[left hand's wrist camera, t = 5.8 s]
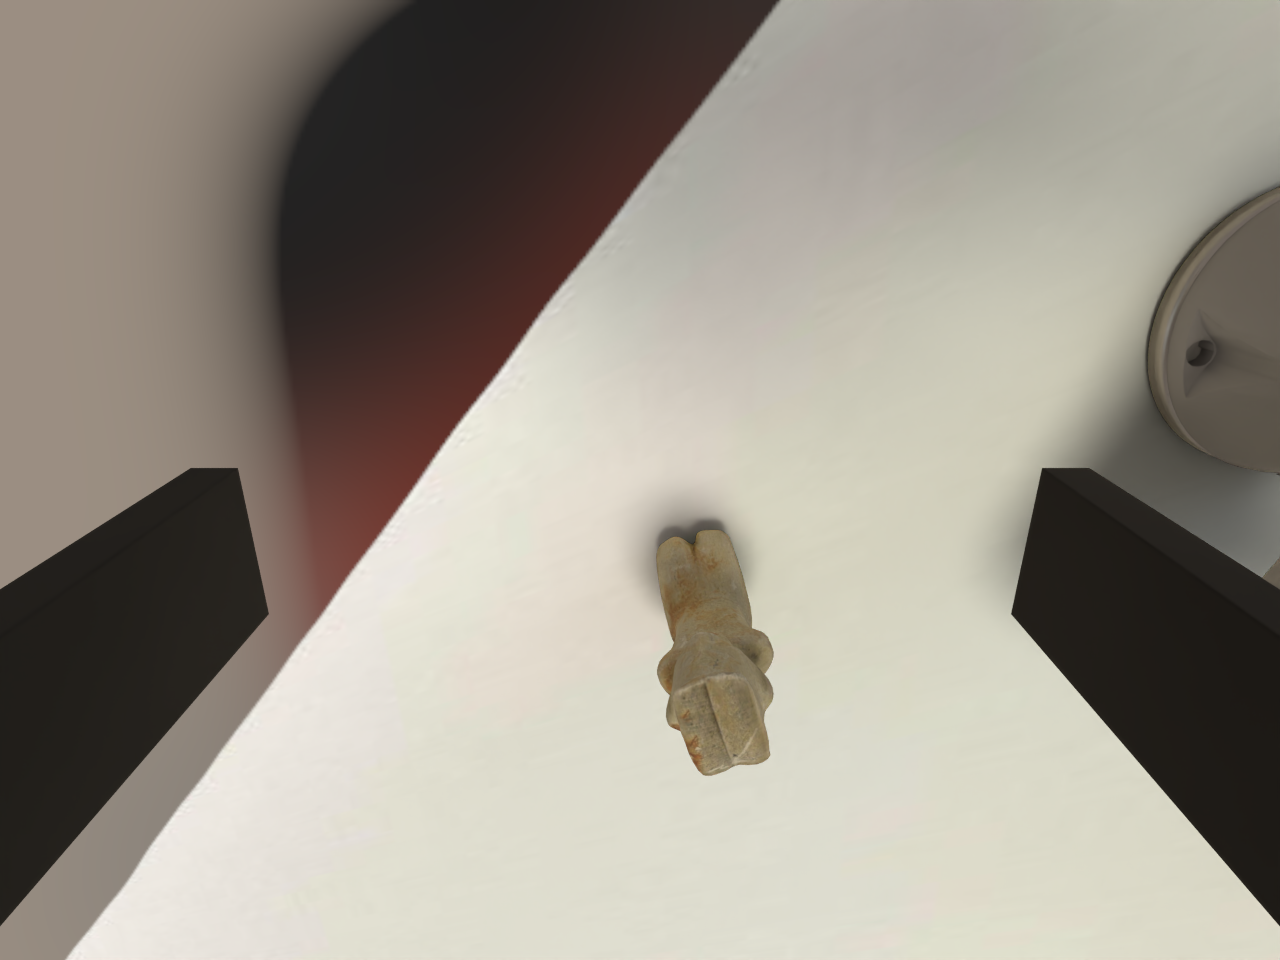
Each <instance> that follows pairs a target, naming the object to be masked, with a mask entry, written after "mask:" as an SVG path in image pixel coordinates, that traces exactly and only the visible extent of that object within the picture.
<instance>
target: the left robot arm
mask: <svg viewBox="0 0 1280 960" xmlns="http://www.w3.org/2000/svg"><path fill="white" fill-rule="evenodd" d="M1148 374H1149V381H1150V387H1151V390H1152V394H1153V398H1154V400H1155V402H1156V405H1157V407H1158V409H1159V411H1160V413H1161V415H1162V417H1163V418H1164V420H1165V421H1166V422H1167V424H1168V425H1169V426H1170V428H1171V429H1172V430H1173V431H1174V432H1175V433H1176V434H1177V435H1178V436H1179V437H1181V438H1182V439H1183V440H1184V441H1186V442H1187V443H1188V444H1190V445H1192V446H1193V447H1195V448H1197V449H1199V450H1201V451H1203V452H1205V453H1207V454H1209V455H1211V456H1213V457H1215V458H1217V459H1220V460H1222V461H1224V462H1226V463H1229V464H1232V465H1235V466H1239V467H1243V468H1248V469H1253V470H1258V471H1263V472H1274V473H1279V474H1277V475H1280V187H1278V188H1276V189H1274V190H1271V191H1269V192H1267V193H1265V194H1263V195H1261V196H1259V197H1258V198H1256V199H1254V200H1252V201H1251V202H1249V203H1247V204H1246V205H1244V206H1243V207H1241V208H1240V209H1238V210H1237V211H1235V212H1234V213H1232V214H1231V215H1230V216H1229V217H1227V218H1226V219H1225V220H1224V221H1222V222H1221V223H1220V224H1219V225H1218V226H1217V227H1215V228H1214V229H1213V230H1212V231H1211V232H1210V233H1209V234H1208V235H1207V236H1206V237H1205V238H1204V239H1203V240H1202V241H1201V242H1200V243H1199V244H1198V245H1197V247H1196V248H1195V249H1194V250H1193V251H1192V252H1191V254H1190V255H1189V256H1188V257H1187V259H1186V260H1185V261H1184V263H1183V264H1182V266H1181V267H1180V269H1179V270H1178V271H1177V273H1176V274H1175V276H1174V278H1173V279H1172V281H1171V283H1170V285H1169V287H1168V288H1167V290H1166V292H1165V294H1164V297H1163V299H1162V301H1161V303H1160V305H1159V308H1158V311H1157V314H1156V316H1155V320H1154V323H1153V327H1152V331H1151V336H1150V342H1149V350H1148ZM268 614H269V613H268V608H267V603H266V599H265V594H264V589H263V585H262V580H261V575H260V570H259V566H258V561H257V556H256V552H255V547H254V542H253V537H252V533H251V528H250V523H249V519H248V514H247V509H246V504H245V500H244V495H243V490H242V486H241V481H240V476H239V472H238V468H190V469H189V470H187V471H186V472H184V473H183V474H181V475H179V476H178V477H176V478H175V479H173V480H171V481H170V482H168V483H167V484H165V485H164V486H162V487H160V488H159V489H157V490H156V491H154V492H153V493H151V494H149V495H148V496H146V497H145V498H143V499H142V500H140V501H138V502H137V503H135V504H134V505H132V506H131V507H129V508H128V509H126V510H124V511H123V512H121V513H120V514H118V515H116V516H115V517H113V518H112V519H110V520H109V521H107V522H105V523H104V524H102V525H101V526H99V527H98V528H96V529H94V530H93V531H91V532H90V533H88V534H87V535H85V536H83V537H82V538H80V539H79V540H77V541H75V542H74V543H72V544H71V545H69V546H68V547H66V548H65V549H63V550H61V551H60V552H58V553H57V554H55V555H53V556H52V557H50V558H49V559H47V560H46V561H44V562H42V563H41V564H39V565H38V566H36V567H35V568H33V569H32V570H30V571H28V572H27V573H25V574H24V575H22V576H21V577H19V578H17V579H16V580H14V581H13V582H11V583H9V584H8V585H6V586H5V587H3V588H2V589H0V926H1V925H2V923H3V922H4V921H5V920H6V919H7V918H8V916H9V915H10V914H11V913H12V912H13V911H14V909H15V908H16V907H17V906H18V905H19V904H20V902H21V901H22V900H23V899H24V898H25V897H26V896H27V894H28V893H29V892H30V891H31V890H32V889H33V887H34V886H35V885H36V884H37V883H38V881H39V880H40V879H41V878H42V877H43V876H44V875H45V873H46V872H47V871H48V870H49V869H50V868H51V866H52V865H53V864H54V863H55V862H56V861H57V860H58V858H59V857H60V856H61V855H62V854H63V853H64V851H65V850H66V849H67V848H68V847H69V846H70V844H71V843H72V842H73V841H74V840H75V839H76V837H77V836H78V835H79V834H80V833H81V832H82V830H83V829H84V828H85V827H86V826H87V825H88V823H89V822H90V821H91V820H92V819H93V818H94V816H95V815H96V814H97V813H98V812H99V811H100V810H101V808H102V807H103V806H104V805H105V804H106V803H107V801H108V800H109V799H110V798H111V797H112V796H113V794H114V793H115V792H116V791H117V790H118V789H119V787H120V786H121V785H122V784H123V783H124V782H125V780H126V779H127V778H128V777H129V776H130V775H131V774H132V772H133V771H134V770H135V769H136V768H137V767H138V765H139V764H140V763H141V762H142V761H143V760H144V758H145V757H146V756H147V755H148V754H149V753H150V751H151V750H152V749H153V748H154V747H155V746H156V744H157V743H158V742H159V741H160V740H161V739H162V737H163V736H164V735H165V734H166V733H167V732H168V731H169V729H170V728H171V727H172V726H173V725H174V724H175V722H176V721H177V720H178V719H179V718H180V717H181V715H182V714H183V713H184V712H185V711H186V710H187V708H188V707H189V706H190V705H191V704H192V703H193V701H194V700H195V699H196V698H197V697H198V696H199V694H200V693H201V692H202V691H203V690H204V689H205V688H206V686H207V685H208V684H209V683H210V682H211V681H212V679H213V678H214V677H215V676H216V675H217V674H218V672H219V671H220V670H221V669H222V668H223V667H224V665H225V664H226V663H227V662H228V661H229V660H230V658H231V657H232V656H233V655H234V654H235V653H236V652H237V650H238V649H239V648H240V647H241V646H242V644H243V643H244V642H245V641H246V640H247V639H248V638H249V636H250V635H251V634H252V633H253V632H254V631H255V629H256V628H257V627H258V626H259V625H260V624H261V622H262V621H263V620H264V619H265V618H266V617H267V615H268ZM1011 614H1012V615H1013V617H1014V618H1015V619H1016V620H1017V621H1018V622H1019V624H1020V625H1021V626H1022V627H1023V628H1024V629H1025V631H1026V632H1027V633H1028V634H1029V635H1030V636H1031V638H1032V639H1033V640H1034V641H1035V642H1036V643H1037V645H1038V646H1039V647H1040V648H1041V649H1042V650H1043V652H1044V653H1045V654H1046V655H1047V656H1048V657H1049V658H1050V660H1051V661H1052V662H1053V663H1054V664H1055V665H1056V667H1057V668H1058V669H1059V670H1060V671H1061V672H1062V674H1063V675H1064V676H1065V677H1066V678H1067V679H1068V681H1069V682H1070V683H1071V684H1072V685H1073V686H1074V688H1075V689H1076V690H1077V691H1078V692H1079V693H1080V694H1081V696H1082V697H1083V698H1084V699H1085V700H1086V701H1087V703H1088V704H1089V705H1090V706H1091V707H1092V708H1093V710H1094V711H1095V712H1096V713H1097V714H1098V715H1099V717H1100V718H1101V719H1102V720H1103V721H1104V722H1105V724H1106V725H1107V726H1108V727H1109V728H1110V729H1111V731H1112V732H1113V733H1114V734H1115V735H1116V736H1117V737H1118V739H1119V740H1120V741H1121V742H1122V743H1123V744H1124V746H1125V747H1126V748H1127V749H1128V750H1129V751H1130V753H1131V754H1132V755H1133V756H1134V757H1135V758H1136V760H1137V761H1138V762H1139V763H1140V764H1141V765H1142V767H1143V768H1144V769H1145V770H1146V771H1147V772H1148V774H1149V775H1150V776H1151V777H1152V778H1153V779H1154V780H1155V782H1156V783H1157V784H1158V785H1159V786H1160V787H1161V789H1162V790H1163V791H1164V792H1165V793H1166V794H1167V796H1168V797H1169V798H1170V799H1171V800H1172V801H1173V803H1174V804H1175V805H1176V806H1177V807H1178V808H1179V810H1180V811H1181V812H1182V813H1183V814H1184V815H1185V817H1186V818H1187V819H1188V820H1189V821H1190V822H1191V823H1192V825H1193V826H1194V827H1195V828H1196V829H1197V830H1198V832H1199V833H1200V834H1201V835H1202V836H1203V837H1204V839H1205V840H1206V841H1207V842H1208V843H1209V844H1210V846H1211V847H1212V848H1213V849H1214V850H1215V851H1216V853H1217V854H1218V855H1219V856H1220V857H1221V858H1222V860H1223V861H1224V862H1225V863H1226V864H1227V865H1228V866H1229V868H1230V869H1231V870H1232V871H1233V872H1234V873H1235V875H1236V876H1237V877H1238V878H1239V879H1240V880H1241V882H1242V883H1243V884H1244V885H1245V886H1246V887H1247V889H1248V890H1249V891H1250V892H1251V893H1252V894H1253V896H1254V897H1255V898H1256V899H1257V900H1258V901H1259V903H1260V904H1261V905H1262V906H1263V907H1264V908H1265V909H1266V911H1267V912H1268V913H1269V914H1270V915H1271V916H1272V918H1273V919H1274V920H1275V921H1276V922H1277V923H1278V925H1279V926H1280V558H1279V559H1278V560H1277V561H1276V563H1275V564H1274V565H1273V566H1272V567H1271V568H1270V569H1269V571H1268V572H1267V573H1266V574H1265V575H1264V576H1263V577H1262V578H1261V577H1260V576H1258V575H1256V574H1255V573H1253V572H1252V571H1250V570H1249V569H1247V568H1245V567H1244V566H1242V565H1241V564H1239V563H1238V562H1236V561H1234V560H1233V559H1231V558H1230V557H1228V556H1227V555H1225V554H1223V553H1222V552H1220V551H1219V550H1217V549H1216V548H1214V547H1212V546H1211V545H1209V544H1208V543H1206V542H1205V541H1203V540H1201V539H1200V538H1198V537H1197V536H1195V535H1193V534H1192V533H1190V532H1189V531H1187V530H1186V529H1184V528H1182V527H1181V526H1179V525H1178V524H1176V523H1175V522H1173V521H1171V520H1170V519H1168V518H1167V517H1165V516H1164V515H1162V514H1160V513H1159V512H1157V511H1156V510H1154V509H1153V508H1151V507H1149V506H1148V505H1146V504H1145V503H1143V502H1142V501H1140V500H1138V499H1137V498H1135V497H1134V496H1132V495H1131V494H1129V493H1127V492H1126V491H1124V490H1123V489H1121V488H1120V487H1118V486H1116V485H1115V484H1113V483H1112V482H1110V481H1109V480H1107V479H1105V478H1104V477H1102V476H1101V475H1099V474H1098V473H1096V472H1094V471H1093V470H1091V469H1090V468H1042V472H1041V476H1040V481H1039V486H1038V490H1037V495H1036V500H1035V504H1034V509H1033V514H1032V519H1031V523H1030V528H1029V533H1028V537H1027V542H1026V547H1025V552H1024V556H1023V561H1022V566H1021V570H1020V575H1019V580H1018V585H1017V589H1016V594H1015V599H1014V603H1013V608H1012V613H1011Z"/></svg>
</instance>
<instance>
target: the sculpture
mask: <svg viewBox="0 0 1280 960" xmlns="http://www.w3.org/2000/svg"><path fill="white" fill-rule="evenodd" d="M656 558H657V571H658V578H659V585H660V591H661V597H662V602H663V606H664V611H665V615H666V619H667V622H668V626H669V630H670V634H671V637H672V639H673V641H674V644H673V647H672V649H671V650H670V651H669V652H668V653H667V654H666V655H665V656H664V657H663V658H662V659H661V661H660V662H659V665H658V669H657V675H658V678H659V681H660V684H661V685H662V687H663V688H664V689H665V691H666V692H667V693H668V694H669V695H670V697H669V701H668V705H667V709H666V718H667V722H668V724H669V726H671V727H672V728H674V729H677V730H679V731H681V733H682V736H683V738H684V741H685V743H686V746H687V749H688V752H689V755H690V757H691V759H692V761H693V763H694V764H695V766H696V767H697V769H698V770H699V771H700V772H701V773H702V774H703V775H705V776H712V775H715V774H718V773H721V772H724V771H726V770H728V769H730V768H731V767H733V766H736V765H753V764H759V763H762V762H764V761H765V760H767V759H768V758H769V756H770V751H769V740H768V736H767V732H766V727H765V724H764V713H765V711H766V709H767V708H768V706H769V705H770V704H771V702H772V700H773V689H772V686H771V683H770V681H769V679H768V678H767V677H766V676H765V674H764V673H765V672H766V671H767V670H768V668H769V667H770V665H771V663H772V660H773V654H774V652H773V649H772V646H771V643H770V641H769V639H768V637H767V636H766V635H765V634H764V633H763V632H761V631H758V630H755V629H752V616H751V608H750V603H749V599H748V595H747V591H746V587H745V583H744V580H743V576H742V573H741V569H740V566H739V563H738V560H737V558H736V555H735V552H734V549H733V546H732V544H731V541H730V538H729V536H728V535H727V534H725V533H724V532H723V531H720V530H703V531H700V532H698V533H697V535H696V539H695V543H694V544H690V543H688V542H687V541H686V540H684V539H682V538H680V537H672V538H670V539H668V540H666V541H665V542H663V543H662V544H661V545H660V546H659V548H658V551H657V557H656Z"/></svg>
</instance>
